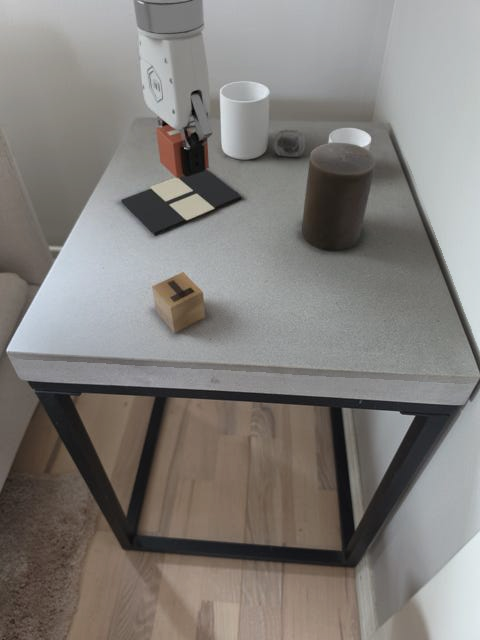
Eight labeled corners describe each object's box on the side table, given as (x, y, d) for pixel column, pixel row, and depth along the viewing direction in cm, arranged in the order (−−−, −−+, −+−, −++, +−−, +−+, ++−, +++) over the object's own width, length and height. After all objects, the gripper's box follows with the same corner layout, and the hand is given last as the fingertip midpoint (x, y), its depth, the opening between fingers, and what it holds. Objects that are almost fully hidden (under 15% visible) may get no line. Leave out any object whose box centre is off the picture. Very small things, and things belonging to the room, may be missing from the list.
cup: (365, 162, 96) (372, 129, 91) (363, 189, 90) (370, 156, 85) (326, 158, 97) (330, 125, 92) (321, 185, 91) (326, 151, 86)
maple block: (174, 333, 66) (170, 307, 62) (156, 311, 69) (151, 286, 65) (205, 317, 68) (203, 291, 64) (186, 297, 71) (183, 271, 67)
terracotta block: (176, 178, 65) (172, 143, 61) (160, 162, 68) (155, 127, 64) (209, 168, 67) (207, 132, 63) (191, 152, 69) (188, 118, 66)
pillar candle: (318, 257, 77) (331, 172, 66) (291, 223, 83) (299, 140, 72) (371, 243, 79) (392, 158, 68) (341, 210, 85) (356, 128, 74)
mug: (218, 160, 97) (216, 101, 88) (225, 131, 105) (224, 75, 96) (265, 162, 96) (268, 103, 88) (269, 133, 104) (271, 77, 96)
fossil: (272, 158, 97) (273, 135, 94) (272, 150, 100) (273, 126, 96) (304, 159, 97) (307, 135, 93) (303, 150, 99) (305, 126, 96)
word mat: (155, 236, 80) (155, 233, 80) (120, 201, 87) (119, 198, 87) (242, 199, 88) (242, 196, 87) (203, 169, 95) (203, 166, 94)
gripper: (108, 0, 57) (133, 145, 70) (175, 42, 47) (189, 201, 61) (165, -10, 60) (179, 132, 73) (239, 28, 50) (240, 184, 63)
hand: (184, 162), depth 67 cm, fingers closed on terracotta block, 5 cm apart
